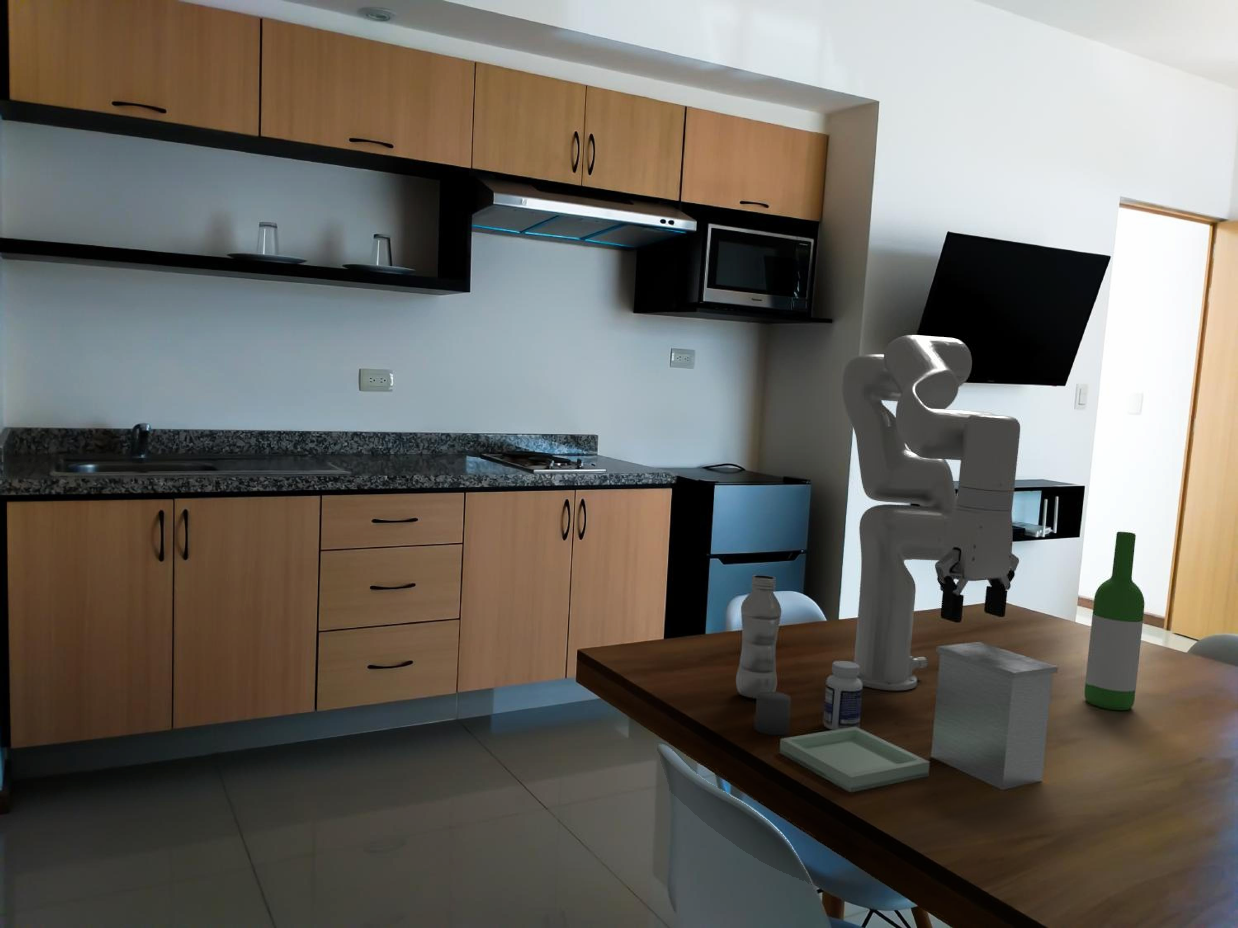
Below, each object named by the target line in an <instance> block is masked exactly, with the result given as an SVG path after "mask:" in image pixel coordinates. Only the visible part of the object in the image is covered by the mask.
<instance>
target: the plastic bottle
mask: <svg viewBox="0 0 1238 928" xmlns="http://www.w3.org/2000/svg"><path fill="white" fill-rule="evenodd" d="M750 588H751V589H752V590H751V592H749V593H748V595H746V597H745V598H744V599H743V601H742V602H741V606H740V616H741V626H742V627H741V628H742V629H741V630H742V632H741V633H742V634H741V636H742V638H741V639H742V640H741V652H740V659H739V666H738V669H737V673H736V677H735V683H736V689H737V691H738V693H739V694H740V695H741V696H743V697H746V698H749V699H750V698H751V699H755V700H757V694H758V693H760V692H764V691H773V692H777V690H776V689H777V687H778V678H777V677H778V676H777V670H776V649H777V648H776V647H777V644H776V643H777V638H778V632H779V628H780V621H781V617H782V607H781V603H780V601H779V599H778V598H777V596H776V595H775V592H774V591H775V590H776V577H775V576H773V575H772V576H771V575H765V574H754V575H752V578H751V584H750Z"/></svg>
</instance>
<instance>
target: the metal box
mask: <svg viewBox="0 0 1238 928" xmlns="http://www.w3.org/2000/svg"><path fill="white" fill-rule="evenodd" d="M935 652H936V653H938V654H940V655H939V665H938V673H937V674H938V676H937V687H936V696H935V697H936V698H935V708H934V710H935V711H934V721H933V731H932V740H931V741H932V743H931V753H930V757H931V758H933V759H935V760H937V761H939V762H941V763H944V764H946V765H948V766H949V767H953V768H955V769H957V770H958V771H961V772H963V773H965V774H967V775H969V776H972V777H974V778H976V779H978V780H980V781H982V782H985V783H987V784H989V785H991V786H993V787H995V788H997V789H998V790H1001V791H1002V790H1007V789H1012V788H1016V787H1020V786H1026V785H1030V784H1034V783H1038V782H1042V781H1043V773H1044V764H1045V763H1044V762H1045V753H1046V742H1047V734H1048V733H1047V732H1048V723H1049V714H1050V713H1049V712H1050V703H1051V694H1052V693H1051V692H1052V684H1053V682H1052V681H1053V674H1056V673H1057V674H1058V672H1059V671H1058V669H1059V666H1057V665H1053V664H1051V663H1047V662H1044V661H1042V660H1039V659H1036V658H1032V657H1028V656H1026V655H1022V654H1020V653H1015V652H1013V651H1010V650H1007V649H1005V648H1003V649H1002V648H1001V647H997V646H993V645H991V644H988V643H984V642H981V641H977V642H976V641H974V642H965V643H956V644H955V643H954V644H948V645H939V646H938V645H937V646H936V650H935Z"/></svg>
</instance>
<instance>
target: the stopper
mask: <svg viewBox="0 0 1238 928" xmlns="http://www.w3.org/2000/svg"><path fill="white" fill-rule="evenodd" d="M755 702H756V703H755V714H754V715H755V717H754V729H755V730H756V731H757V732H759V733H761V734H764V735H769V736H785V735H787V734H788V733H789V729H790V718H791V717H790V716H791V704H792V703H791V702H792V698H791V696H790V695H788V694H787V693H782V692H779V691H778V692H777V691H775V692H773V691H764V692H760V693H758V694H757V699H756V701H755Z"/></svg>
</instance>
